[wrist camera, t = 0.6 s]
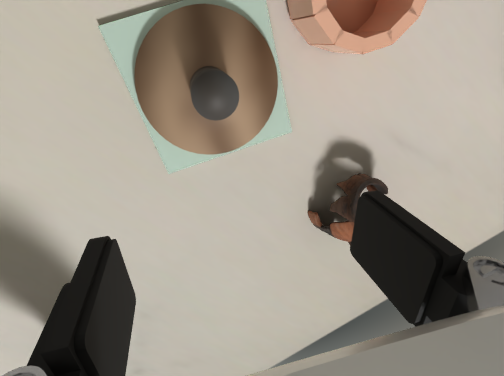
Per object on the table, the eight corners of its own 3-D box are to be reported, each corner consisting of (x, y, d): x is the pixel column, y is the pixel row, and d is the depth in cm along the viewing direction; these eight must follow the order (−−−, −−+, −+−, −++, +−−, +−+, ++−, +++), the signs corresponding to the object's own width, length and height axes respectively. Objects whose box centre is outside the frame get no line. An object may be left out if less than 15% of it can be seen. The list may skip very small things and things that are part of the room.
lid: (257, -15, 25) (276, -29, 20) (287, 129, 32) (306, 145, 27) (106, 30, 24) (87, 27, 19) (171, 168, 31) (169, 192, 26)
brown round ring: (292, 198, 38) (336, 200, 31) (333, 162, 42) (382, 156, 35) (329, 264, 41) (378, 280, 34) (365, 224, 45) (415, 231, 38)
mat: (259, -23, 25) (261, -24, 25) (290, 130, 33) (292, 131, 32) (99, 26, 24) (97, 25, 24) (168, 172, 32) (168, 174, 31)
